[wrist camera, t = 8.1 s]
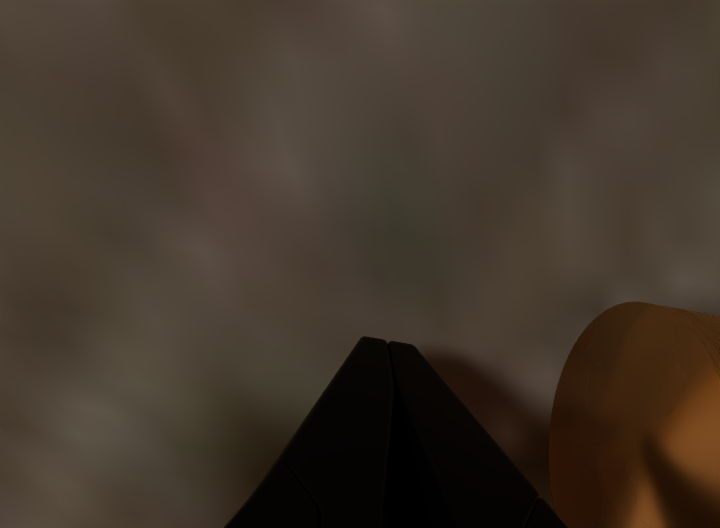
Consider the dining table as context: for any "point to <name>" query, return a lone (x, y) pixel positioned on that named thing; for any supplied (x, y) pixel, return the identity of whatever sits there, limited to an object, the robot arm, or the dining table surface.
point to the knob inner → (639, 422)
